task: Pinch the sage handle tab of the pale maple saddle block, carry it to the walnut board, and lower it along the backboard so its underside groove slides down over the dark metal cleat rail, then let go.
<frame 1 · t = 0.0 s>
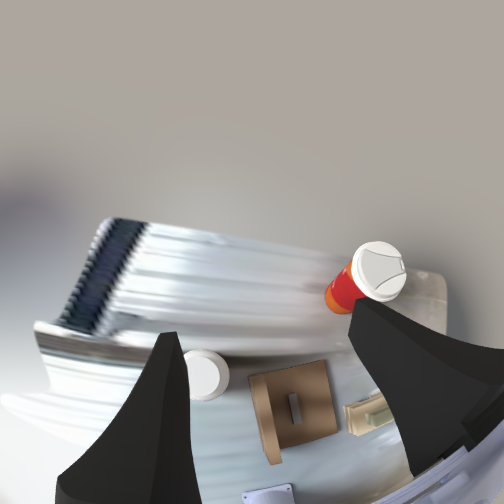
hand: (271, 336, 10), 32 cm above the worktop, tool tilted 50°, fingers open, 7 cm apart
cleat board: (293, 406, 37), on the worktop
coffee cup: (339, 298, 45), on the worktop
supplement bottle: (207, 372, 38), on the worktop
saddle block: (365, 411, 37), on the worktop
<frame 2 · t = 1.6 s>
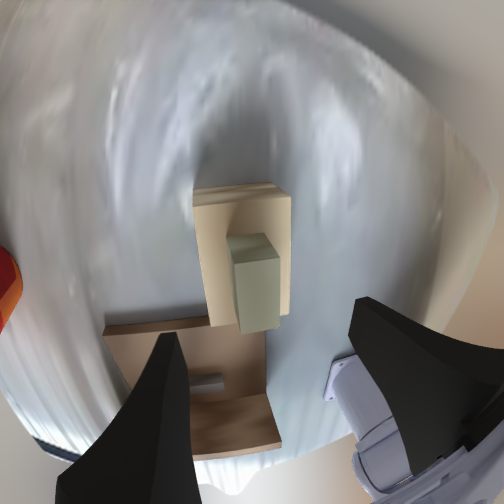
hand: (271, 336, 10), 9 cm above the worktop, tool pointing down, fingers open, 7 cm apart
cleat board: (193, 368, 23), on the worktop
coffee cup: (0, 273, 15), on the worktop
saddle block: (236, 240, 19), on the worktop
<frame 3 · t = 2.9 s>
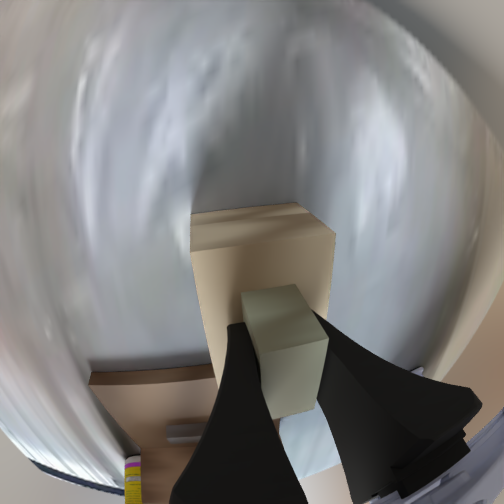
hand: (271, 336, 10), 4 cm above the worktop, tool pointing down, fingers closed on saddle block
cleat board: (196, 412, 19), on the worktop
supplement bottle: (152, 461, 23), on the worktop
saddle block: (249, 278, 14), on the worktop, touching gripper
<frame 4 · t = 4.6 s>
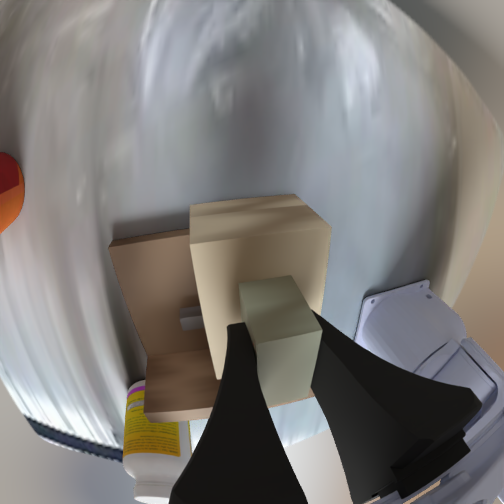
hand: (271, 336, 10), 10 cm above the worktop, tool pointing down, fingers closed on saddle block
cleat board: (211, 298, 21), on the worktop
coffee cup: (1, 189, 14), on the worktop
supplement bottle: (157, 393, 26), on the worktop
saddle block: (247, 267, 14), point 5 cm above the worktop, touching gripper
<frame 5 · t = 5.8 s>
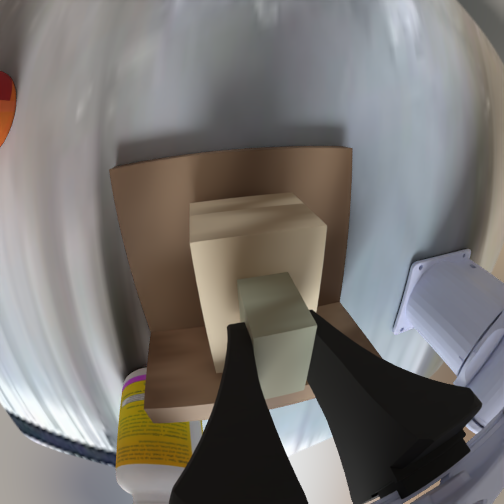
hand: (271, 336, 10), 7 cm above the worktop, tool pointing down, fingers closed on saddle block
cleat board: (240, 250, 16), on the worktop
supplement bottle: (160, 385, 21), on the worktop
saddle block: (245, 264, 15), point 2 cm above the worktop, touching gripper
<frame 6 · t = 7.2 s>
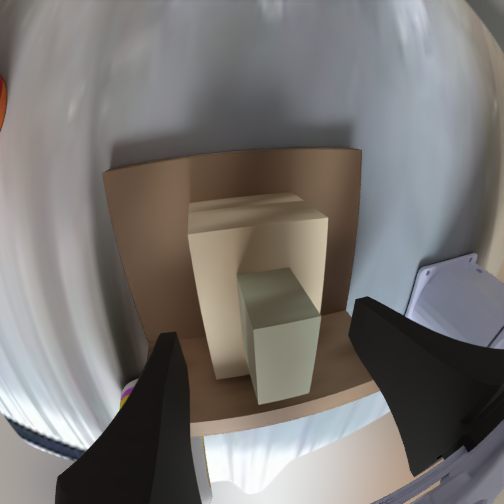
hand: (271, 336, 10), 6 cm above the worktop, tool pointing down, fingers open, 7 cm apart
cleat board: (243, 258, 16), on the worktop
supplement bottle: (160, 394, 20), on the worktop
saddle block: (246, 267, 14), point 1 cm above the worktop, touching cleat board
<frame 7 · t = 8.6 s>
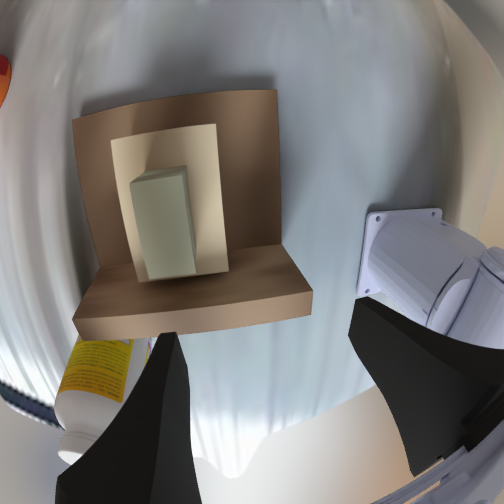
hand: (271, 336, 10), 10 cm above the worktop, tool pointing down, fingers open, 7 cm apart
cleat board: (179, 188, 17), on the worktop
supplement bottle: (117, 334, 22), on the worktop
saddle block: (177, 190, 16), point 1 cm above the worktop, touching cleat board
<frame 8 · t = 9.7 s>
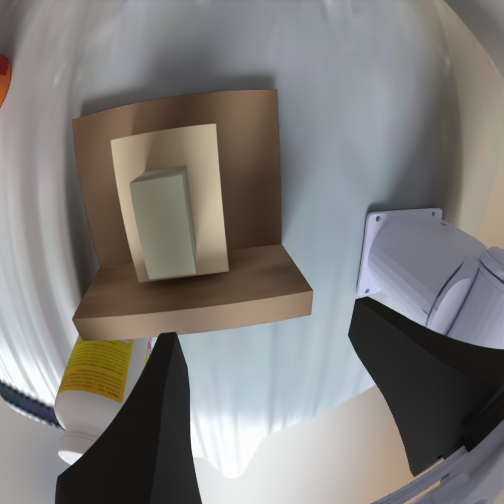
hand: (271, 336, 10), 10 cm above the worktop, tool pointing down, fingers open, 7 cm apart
cleat board: (179, 188, 17), on the worktop
supplement bottle: (117, 334, 22), on the worktop
saddle block: (177, 190, 16), point 1 cm above the worktop, touching cleat board
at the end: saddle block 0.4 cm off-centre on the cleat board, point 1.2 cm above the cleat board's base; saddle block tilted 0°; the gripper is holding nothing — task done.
